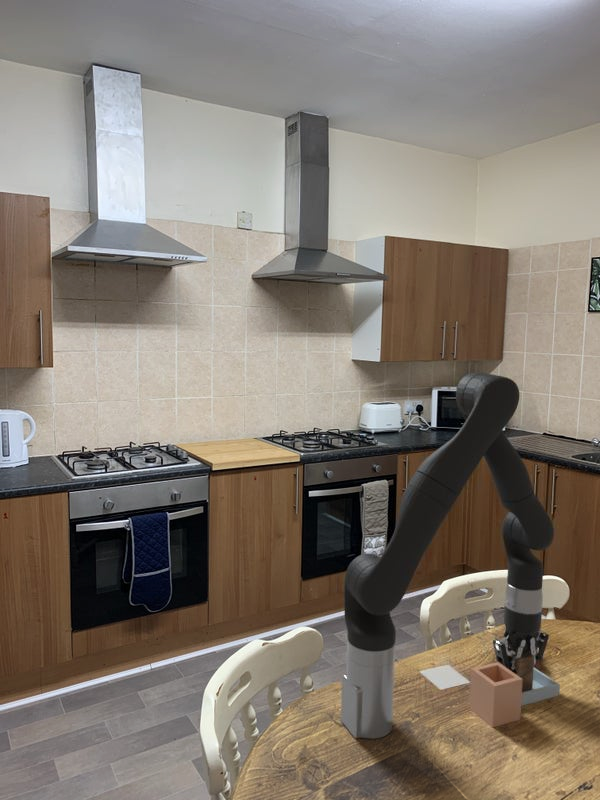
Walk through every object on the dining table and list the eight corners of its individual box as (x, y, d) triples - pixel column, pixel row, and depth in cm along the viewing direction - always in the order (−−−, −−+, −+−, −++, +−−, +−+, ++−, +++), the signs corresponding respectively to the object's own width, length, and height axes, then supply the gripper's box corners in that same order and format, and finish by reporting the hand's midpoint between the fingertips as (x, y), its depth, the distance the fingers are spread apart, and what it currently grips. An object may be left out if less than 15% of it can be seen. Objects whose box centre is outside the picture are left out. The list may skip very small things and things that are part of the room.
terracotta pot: (492, 730, 119) (494, 686, 118) (468, 710, 125) (470, 668, 124) (520, 722, 122) (522, 679, 121) (495, 703, 128) (498, 661, 127)
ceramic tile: (440, 692, 131) (440, 689, 131) (419, 673, 139) (419, 671, 139) (470, 684, 135) (470, 682, 135) (448, 667, 142) (448, 664, 142)
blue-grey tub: (511, 711, 125) (512, 697, 125) (478, 685, 134) (479, 672, 134) (559, 697, 130) (559, 684, 130) (524, 674, 139) (525, 661, 139)
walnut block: (517, 695, 130) (519, 659, 129) (504, 685, 133) (506, 650, 133) (532, 691, 131) (534, 655, 130) (518, 681, 135) (520, 647, 134)
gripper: (509, 617, 124) (505, 697, 126) (561, 606, 130) (556, 684, 132) (484, 602, 131) (480, 679, 133) (535, 593, 137) (531, 666, 138)
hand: (518, 681), depth 132 cm, fingers closed on walnut block, 4 cm apart
